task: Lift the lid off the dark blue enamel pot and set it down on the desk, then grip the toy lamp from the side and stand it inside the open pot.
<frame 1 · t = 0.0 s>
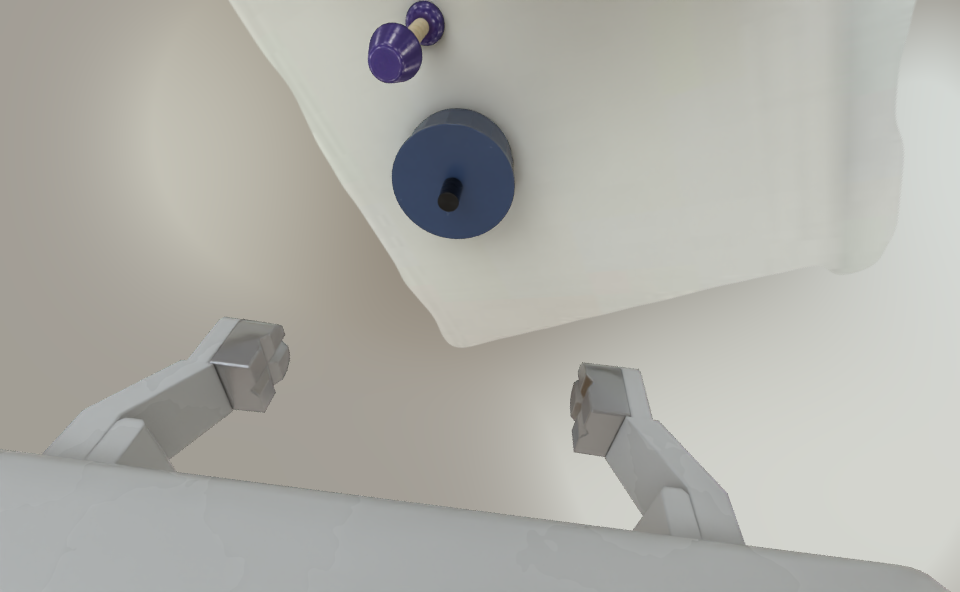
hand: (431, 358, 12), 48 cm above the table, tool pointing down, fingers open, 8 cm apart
toy lamp: (423, 25, 50), on the table
pot: (459, 162, 59), on the table
lid: (453, 184, 54), point 6 cm above the table, touching pot
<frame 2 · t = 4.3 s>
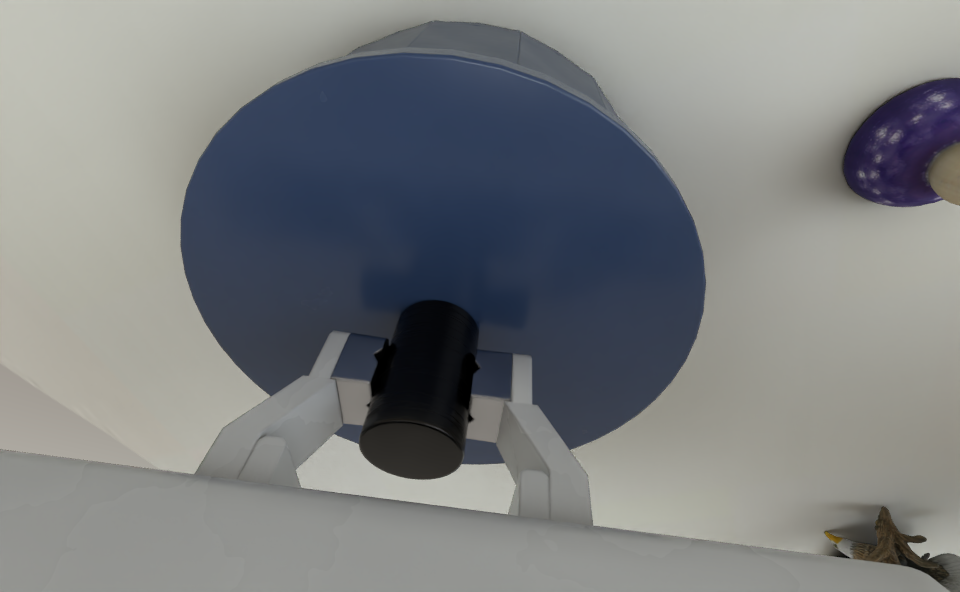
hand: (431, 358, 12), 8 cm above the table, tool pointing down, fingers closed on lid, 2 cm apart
toy lamp: (907, 133, 16), on the table
pot: (464, 211, 19), on the table
lid: (441, 316, 14), point 7 cm above the table, touching gripper, pot
eagle figurine: (856, 530, 33), on the table
when the fingers open (2 cm above the table, at t = 11.8 s): lid stays where it is, point 1 cm above the table.
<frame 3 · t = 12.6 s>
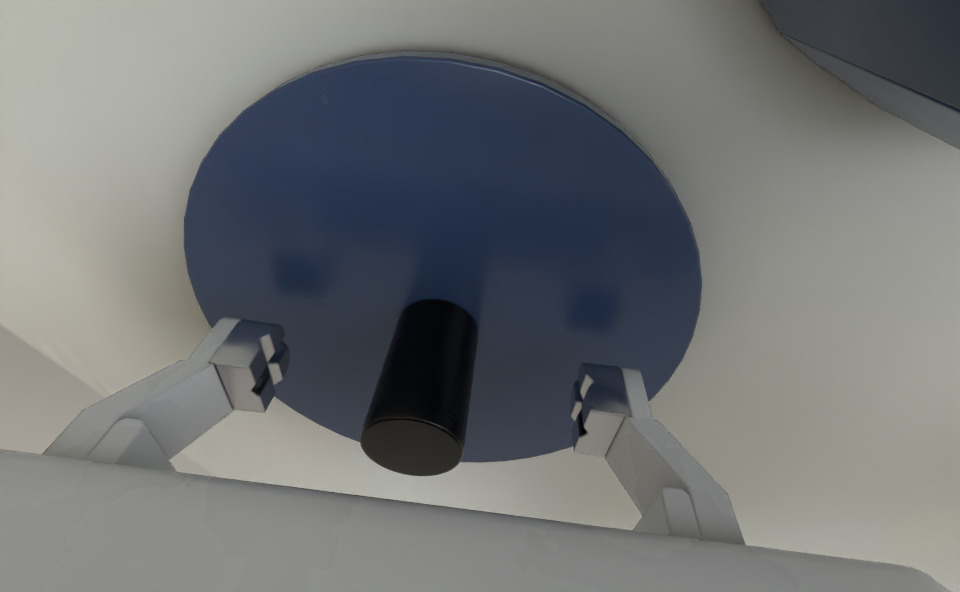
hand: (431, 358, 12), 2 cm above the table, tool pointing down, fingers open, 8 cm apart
lid: (441, 315, 14), point 1 cm above the table
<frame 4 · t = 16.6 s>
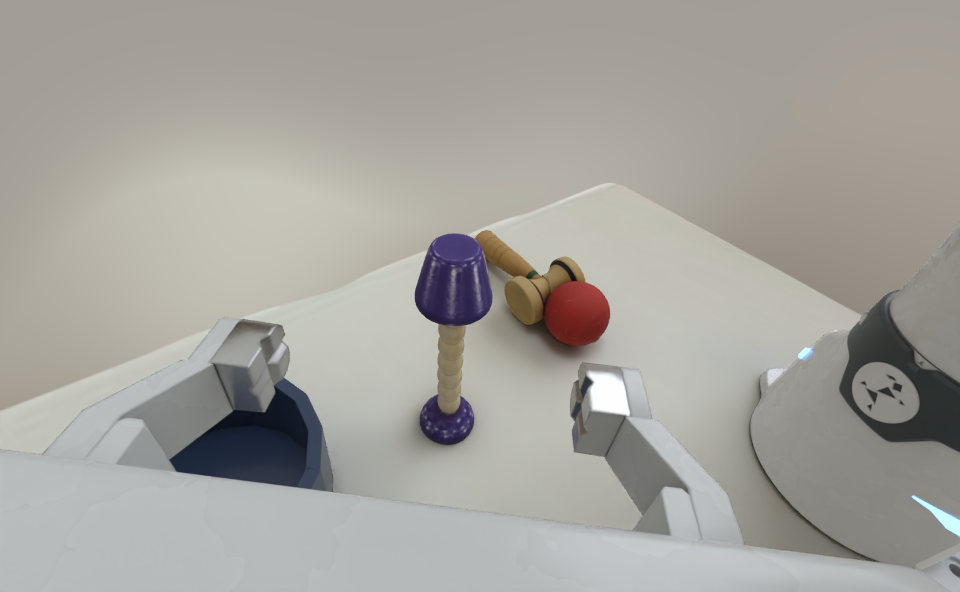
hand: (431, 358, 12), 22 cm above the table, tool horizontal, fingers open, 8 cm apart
kendama: (528, 300, 48), on the table
toy lamp: (443, 419, 36), on the table
pot: (221, 514, 29), on the table
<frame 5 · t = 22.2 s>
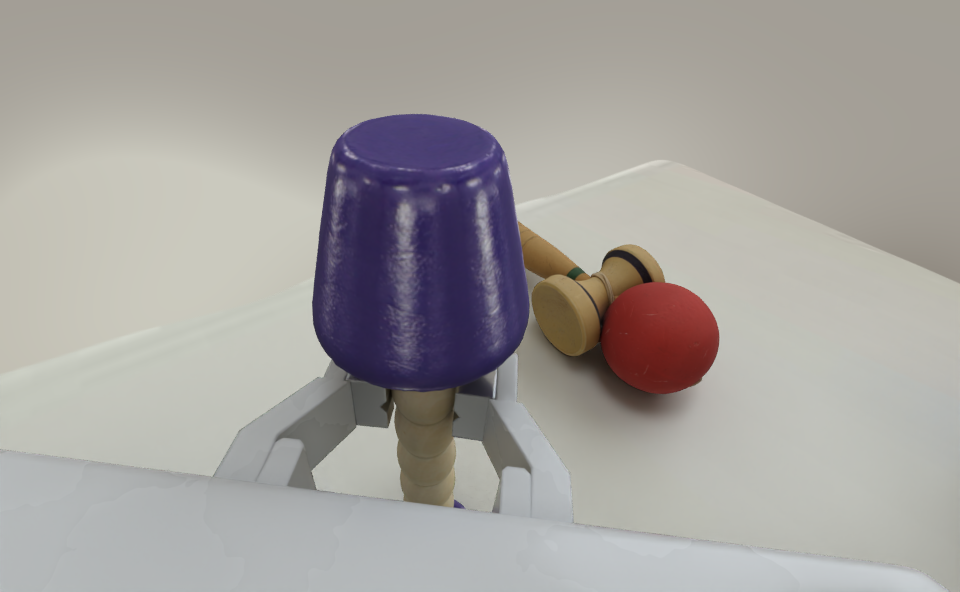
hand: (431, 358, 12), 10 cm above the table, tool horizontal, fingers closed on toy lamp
kendama: (567, 314, 30), on the table
toy lamp: (421, 548, 18), on the table, touching gripper
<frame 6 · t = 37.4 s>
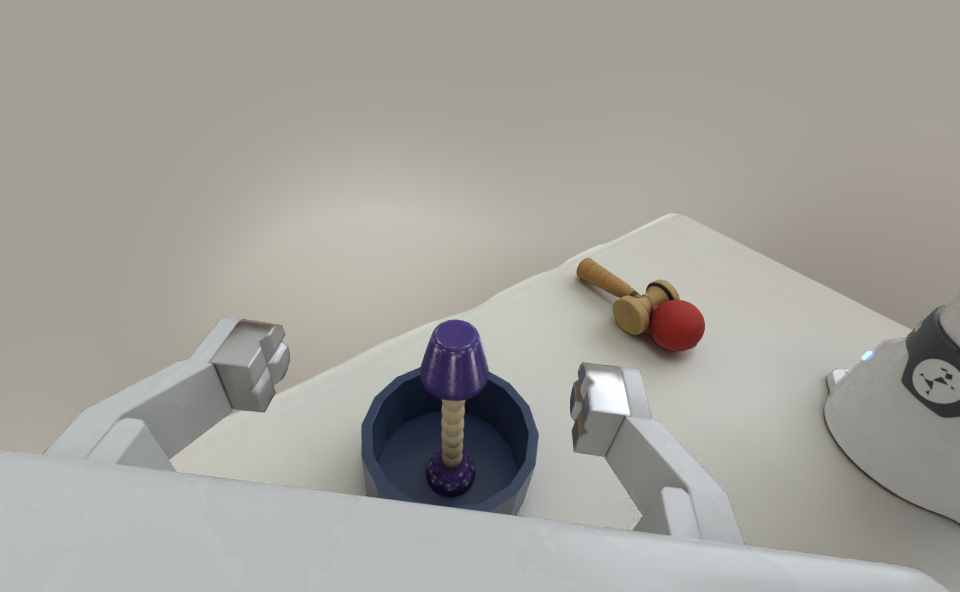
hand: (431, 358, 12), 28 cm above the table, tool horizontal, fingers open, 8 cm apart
kendama: (627, 314, 58), on the table
toy lamp: (447, 471, 39), resting on pot
pot: (447, 472, 40), on the table
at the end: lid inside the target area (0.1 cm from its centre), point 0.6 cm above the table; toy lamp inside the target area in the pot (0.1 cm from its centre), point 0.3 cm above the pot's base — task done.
